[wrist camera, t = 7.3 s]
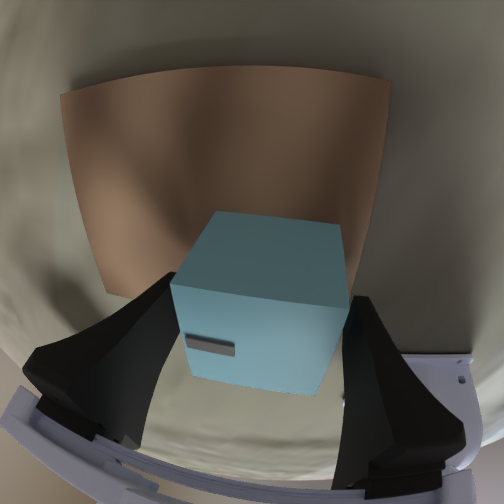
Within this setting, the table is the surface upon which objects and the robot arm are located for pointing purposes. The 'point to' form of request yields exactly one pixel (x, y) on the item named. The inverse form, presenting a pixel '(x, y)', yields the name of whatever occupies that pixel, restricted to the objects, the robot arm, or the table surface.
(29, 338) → the table surface
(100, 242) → the panel
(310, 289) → the blue cube with slot
